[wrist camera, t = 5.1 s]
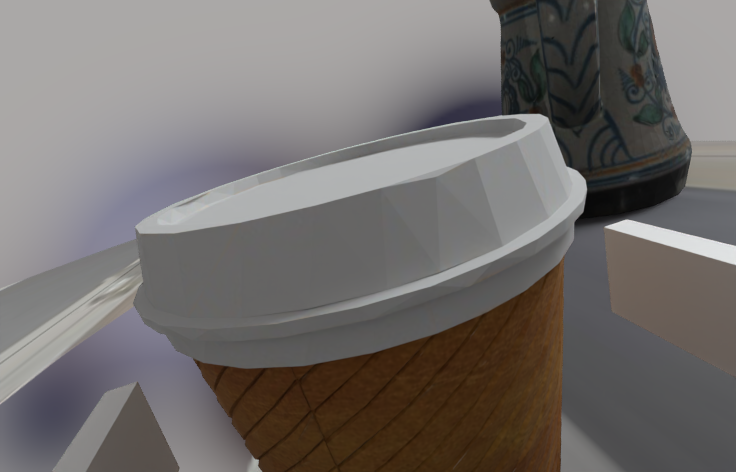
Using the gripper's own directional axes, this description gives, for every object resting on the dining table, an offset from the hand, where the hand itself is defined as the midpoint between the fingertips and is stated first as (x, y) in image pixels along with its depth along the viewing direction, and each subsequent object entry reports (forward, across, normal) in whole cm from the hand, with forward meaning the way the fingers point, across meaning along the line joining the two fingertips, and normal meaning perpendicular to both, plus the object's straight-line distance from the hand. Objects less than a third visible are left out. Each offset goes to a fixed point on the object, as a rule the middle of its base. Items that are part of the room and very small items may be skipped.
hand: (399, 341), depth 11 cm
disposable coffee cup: (-1, 0, -7) cm, 7 cm away
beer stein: (+24, +26, -7) cm, 36 cm away
